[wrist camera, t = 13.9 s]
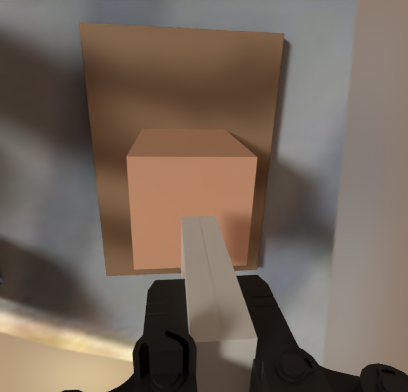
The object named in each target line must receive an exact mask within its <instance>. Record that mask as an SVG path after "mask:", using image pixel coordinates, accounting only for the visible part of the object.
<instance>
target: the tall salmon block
mask: <svg viewBox="0 0 408 392" xmlns="http://www.w3.org/2000/svg"><path fill="white" fill-rule="evenodd" d="M126 158H127V173H128V188H129V202H130V217H131V232H132V247H133V262H134V270H137V269H163V268H181V217H187V216H216V219H217V222H218V224H219V227H220V230H221V233H222V236H223V239H224V242H225V245H226V248H227V251H228V254H229V256H230V259H231V262H232V265H233V266H240V265H247V256H248V246H249V236H250V226H251V216H252V206H253V196H254V186H255V176H256V166H257V156H255V155H254V154H253V153H252V152H251V151H250V150H248V149H247V148H246V147H245V146H244V145H243V144H242V143H240V142H239V141H238V140H237V139H236V138H235V137H233V136H232V135H231V134H230V133H229V132H228V131H226V130H187V129H142V131H141V132H140V134H139V136H138V137H137V139H136V141H135V143H134V144H133V146H132V148H131V150H130V151H129V153H128V155H127V156H126Z"/></svg>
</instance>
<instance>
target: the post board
mask: <svg viewBox="0 0 408 392" xmlns="http://www.w3.org/2000/svg"><path fill="white" fill-rule="evenodd" d="M79 28H80V37H81V46H82V55H83V65H84V74H85V83H86V92H87V101H88V110H89V119H90V129H91V138H92V147H93V156H94V165H95V174H96V183H97V193H98V202H99V211H100V220H101V229H102V238H103V248H104V257H105V266H106V275H107V276H117V275H142V274H166V273H181V268H163V269H137V270H134V262H133V247H132V232H131V217H130V202H129V188H128V173H127V158H126V156H127V155H128V153H129V151H130V150H131V148H132V146H133V144H134V143H135V141H136V139H137V137H138V136H139V134H140V132H141V131H142V129H187V130H226V131H228V132H229V133H230V134H231V135H232V136H233V137H235V138H236V139H237V140H238V141H239V142H240V143H242V144H243V145H244V146H245V147H246V148H247V149H248V150H250V151H251V152H252V153H253V154H254V155H255V156H257V166H256V176H255V186H254V196H253V206H252V216H251V226H250V236H249V246H248V256H247V265H240V266H233V268H234V271H240V270H257V265H258V256H259V248H260V239H261V230H262V222H263V213H264V204H265V196H266V187H267V179H268V170H269V161H270V153H271V144H272V136H273V127H274V118H275V110H276V101H277V92H278V84H279V75H280V67H281V58H282V49H283V41H284V34H283V33H264V32H246V31H228V30H209V29H191V28H172V27H154V26H136V25H117V24H99V23H81V22H79Z"/></svg>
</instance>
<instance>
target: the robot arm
mask: <svg viewBox="0 0 408 392" xmlns="http://www.w3.org/2000/svg"><path fill="white" fill-rule="evenodd" d="M181 277H182V279H173V280H155V281H154V283H153V284H152V286H151V287H150V288H149V290H148V294H147V305H146V313H145V322H144V331H143V336H142V337H141V338H140V339H139V340H138V341H137V342H136V345H135V347H134V350H133V365H134V374H133V375H132V376H131V377H130V378H129V379H128V380H127V381H126V382H125V383H123V384H122V385H121V386H119V387H117V388H115V389H113V390H111V391H109V392H408V375H406V374H405V373H404V372H402V371H400V370H398V369H395V368H393V367H391V366H387V365H383V364H379V363H378V364H370V365H368V366H366V367H365V368H364V369H362V371H361V374H360V377H359V376H354V375H350V374H345V373H341V372H337V371H332V370H329V369H326V368H324V367H322V366H320V365H318V363H317V362H316V361H315V359H314V358H313V357H312V356H311V355H310V354H308V353H307V352H306V351H304V350H303V349H301V348H299V346H298V345H297V343H296V341H295V339H294V337H293V335H292V333H291V331H290V329H289V327H288V324H287V322H286V320H285V318H284V316H283V314H282V312H281V310H280V308H279V307H278V304H277V302H276V300H275V298H274V297H273V294H272V292H271V290H270V288H269V285H268V284H267V283H266V282H265V281H264V280H263V279H261V278H260V277H259V276H258V275H244V276H236V274H235V271H234V268H233V265H232V262H231V259H230V256H229V254H228V251H227V248H226V245H225V242H224V239H223V236H222V233H221V230H220V227H219V224H218V222H217V219H216V216H187V217H181ZM62 392H82V391H80V390H64V391H62Z"/></svg>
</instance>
